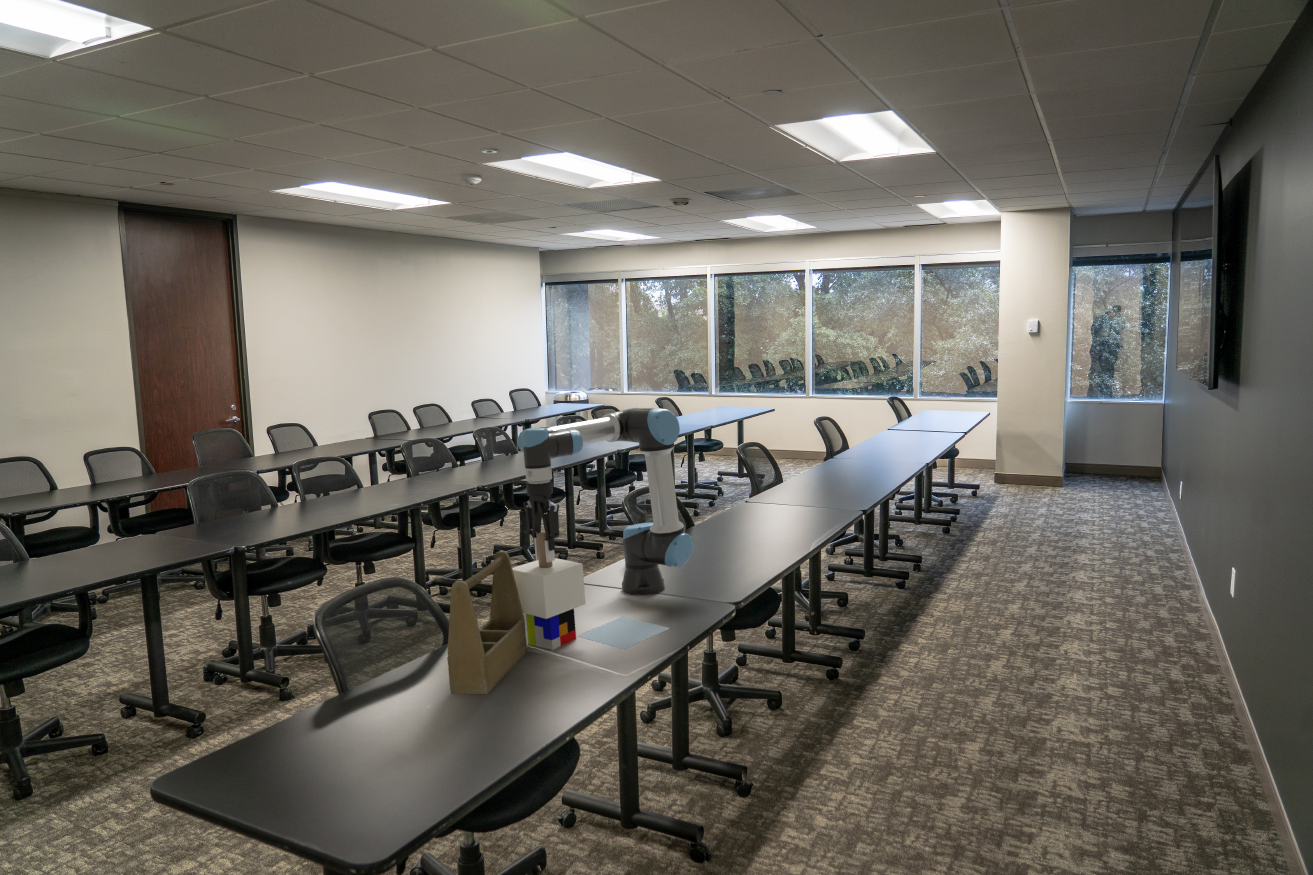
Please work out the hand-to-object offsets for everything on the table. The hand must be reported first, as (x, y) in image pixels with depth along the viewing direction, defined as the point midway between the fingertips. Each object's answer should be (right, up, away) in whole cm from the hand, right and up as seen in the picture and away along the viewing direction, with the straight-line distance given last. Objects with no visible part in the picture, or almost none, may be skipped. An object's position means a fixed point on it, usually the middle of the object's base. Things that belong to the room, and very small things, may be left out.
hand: (545, 559), depth 243 cm
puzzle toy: (+2, -25, +3) cm, 26 cm away
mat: (+23, -23, +7) cm, 33 cm away
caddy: (-13, -28, -16) cm, 35 cm away
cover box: (+1, -14, +2) cm, 14 cm away
